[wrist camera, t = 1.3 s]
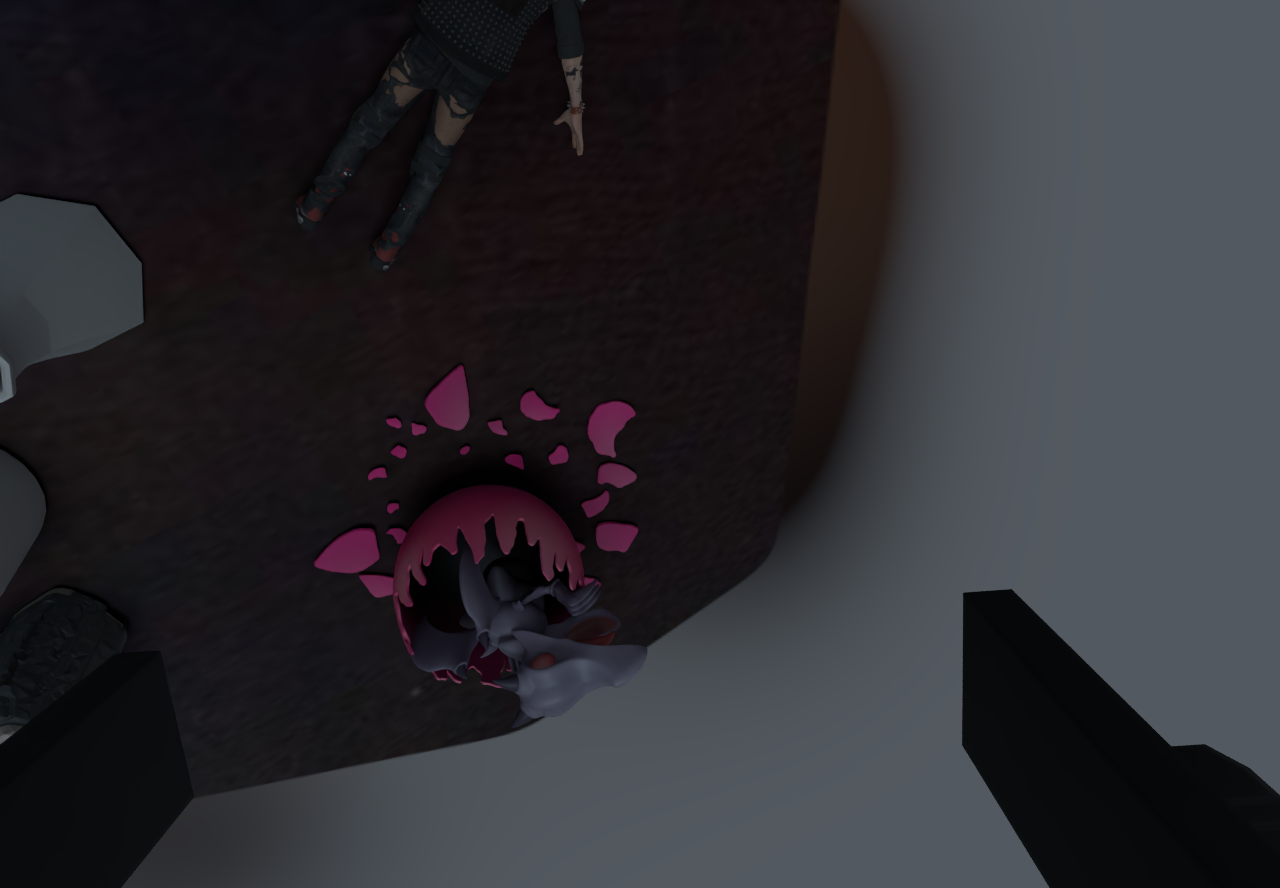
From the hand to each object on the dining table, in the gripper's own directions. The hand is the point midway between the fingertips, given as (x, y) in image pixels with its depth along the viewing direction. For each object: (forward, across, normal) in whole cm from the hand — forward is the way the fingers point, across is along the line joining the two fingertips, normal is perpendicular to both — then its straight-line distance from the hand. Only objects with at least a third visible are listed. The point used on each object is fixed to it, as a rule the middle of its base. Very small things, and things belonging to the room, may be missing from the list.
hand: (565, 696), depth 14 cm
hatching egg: (+35, -8, -8) cm, 37 cm away
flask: (+26, -24, +8) cm, 37 cm away
